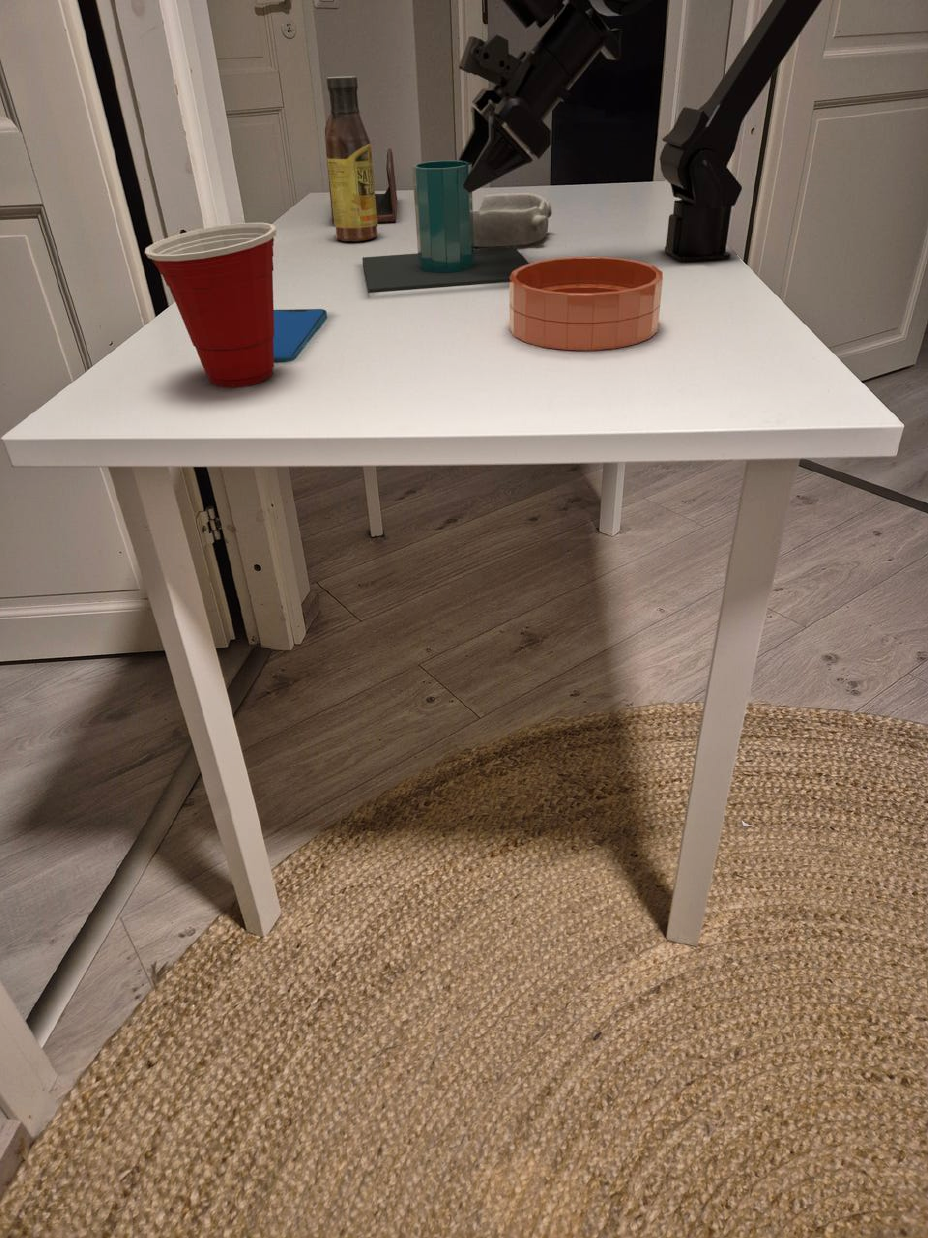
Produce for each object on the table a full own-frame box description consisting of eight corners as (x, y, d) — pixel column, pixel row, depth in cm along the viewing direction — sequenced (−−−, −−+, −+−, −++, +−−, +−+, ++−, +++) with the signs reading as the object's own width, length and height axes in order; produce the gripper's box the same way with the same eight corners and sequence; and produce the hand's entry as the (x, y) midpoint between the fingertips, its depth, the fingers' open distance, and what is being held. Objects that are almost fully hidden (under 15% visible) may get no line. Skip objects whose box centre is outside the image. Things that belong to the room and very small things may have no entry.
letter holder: (332, 225, 129) (320, 121, 121) (341, 203, 145) (330, 109, 137) (396, 222, 129) (388, 117, 121) (397, 200, 145) (390, 106, 137)
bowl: (630, 307, 87) (635, 252, 84) (678, 349, 76) (685, 287, 73) (498, 318, 86) (498, 262, 83) (526, 363, 75) (527, 300, 71)
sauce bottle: (371, 243, 118) (355, 76, 106) (330, 243, 119) (309, 78, 107) (384, 233, 123) (370, 73, 111) (344, 233, 124) (326, 75, 112)
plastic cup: (189, 360, 79) (157, 223, 72) (303, 352, 79) (282, 216, 72) (166, 402, 70) (126, 251, 63) (293, 393, 70) (268, 242, 63)
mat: (514, 254, 109) (514, 245, 108) (540, 284, 96) (540, 275, 96) (363, 265, 107) (362, 257, 107) (369, 297, 94) (368, 288, 94)
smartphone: (216, 358, 78) (262, 309, 90) (218, 368, 78) (264, 318, 90) (292, 358, 77) (328, 308, 89) (294, 368, 78) (330, 317, 90)
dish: (435, 248, 113) (433, 208, 111) (472, 227, 124) (471, 190, 121) (535, 253, 109) (536, 212, 106) (565, 231, 119) (566, 193, 116)
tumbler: (484, 264, 101) (482, 162, 95) (447, 275, 97) (442, 170, 91) (446, 257, 105) (441, 158, 98) (408, 267, 101) (401, 166, 95)
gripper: (487, 3, 94) (400, 122, 100) (520, -1, 79) (415, 139, 85) (553, 81, 100) (467, 190, 105) (596, 91, 85) (492, 217, 90)
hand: (460, 183), depth 96 cm, fingers open, 9 cm apart
